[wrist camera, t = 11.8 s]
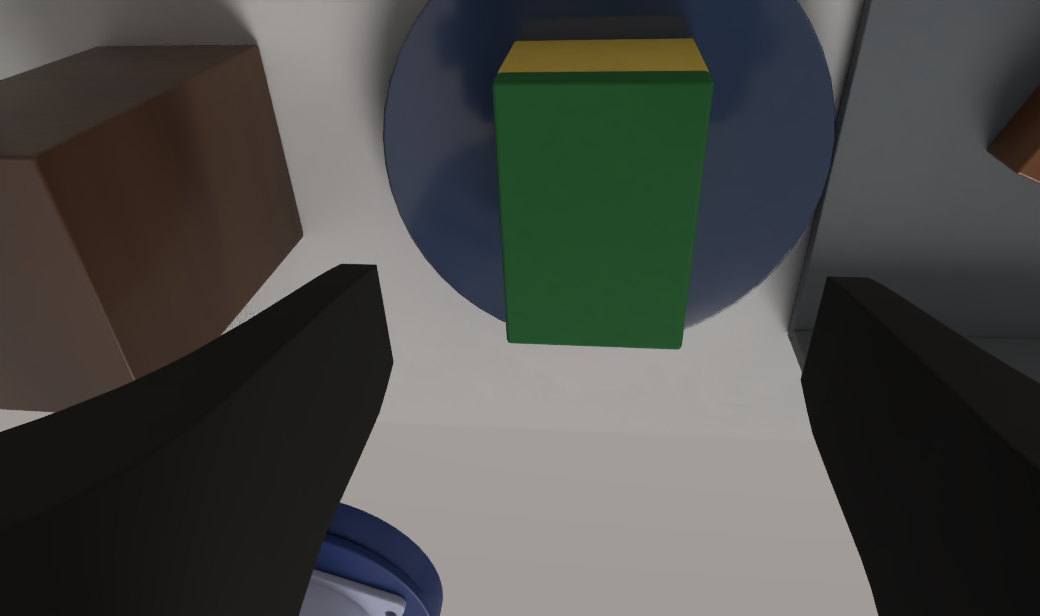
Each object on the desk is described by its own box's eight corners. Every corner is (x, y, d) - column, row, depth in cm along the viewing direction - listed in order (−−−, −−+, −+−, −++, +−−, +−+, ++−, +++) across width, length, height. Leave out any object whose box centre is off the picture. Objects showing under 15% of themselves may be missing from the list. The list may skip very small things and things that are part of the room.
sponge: (522, 269, 18) (506, 344, 15) (513, 40, 15) (491, 82, 12) (669, 272, 18) (681, 351, 15) (693, 37, 15) (714, 80, 12)
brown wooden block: (165, 233, 20) (-48, 407, 14) (96, 46, 17) (-219, 155, 11) (304, 236, 20) (152, 419, 13) (258, 44, 17) (32, 156, 10)
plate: (420, 315, 21) (411, 337, 20) (363, -86, 15) (346, -82, 14) (778, 327, 20) (787, 352, 19) (873, -103, 14) (893, -101, 13)
